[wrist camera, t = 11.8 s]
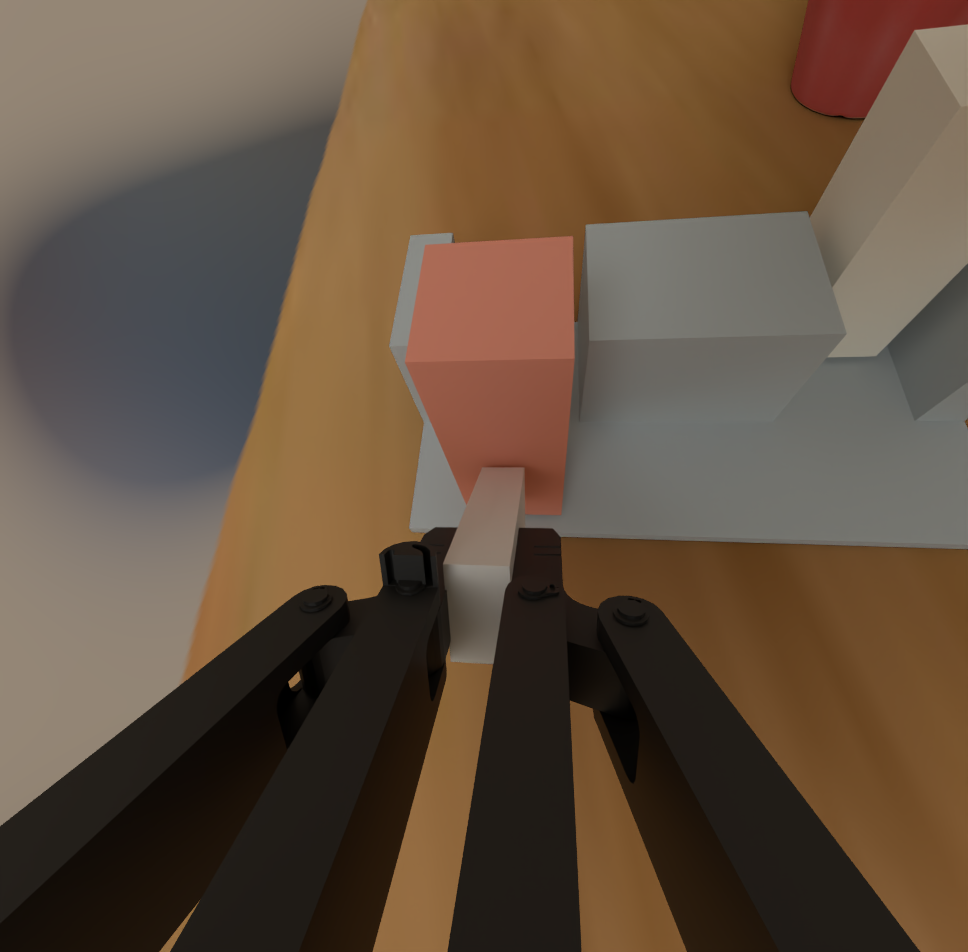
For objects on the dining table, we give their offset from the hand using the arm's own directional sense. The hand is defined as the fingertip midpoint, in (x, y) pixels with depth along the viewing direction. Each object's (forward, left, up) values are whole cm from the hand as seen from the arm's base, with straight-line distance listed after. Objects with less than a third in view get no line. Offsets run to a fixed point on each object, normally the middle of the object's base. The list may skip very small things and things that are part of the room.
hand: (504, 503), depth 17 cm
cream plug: (-15, -12, -5) cm, 20 cm away
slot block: (-8, -7, -5) cm, 11 cm away
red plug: (0, -3, -5) cm, 6 cm away
